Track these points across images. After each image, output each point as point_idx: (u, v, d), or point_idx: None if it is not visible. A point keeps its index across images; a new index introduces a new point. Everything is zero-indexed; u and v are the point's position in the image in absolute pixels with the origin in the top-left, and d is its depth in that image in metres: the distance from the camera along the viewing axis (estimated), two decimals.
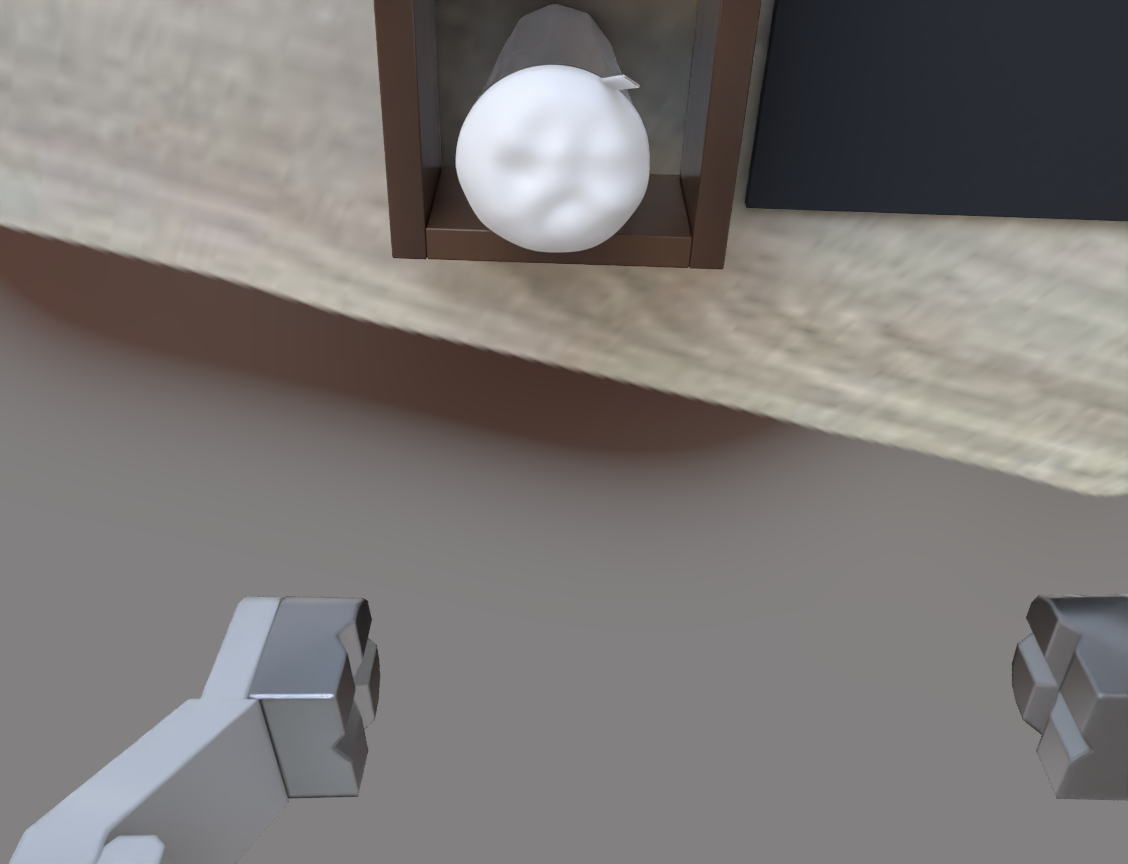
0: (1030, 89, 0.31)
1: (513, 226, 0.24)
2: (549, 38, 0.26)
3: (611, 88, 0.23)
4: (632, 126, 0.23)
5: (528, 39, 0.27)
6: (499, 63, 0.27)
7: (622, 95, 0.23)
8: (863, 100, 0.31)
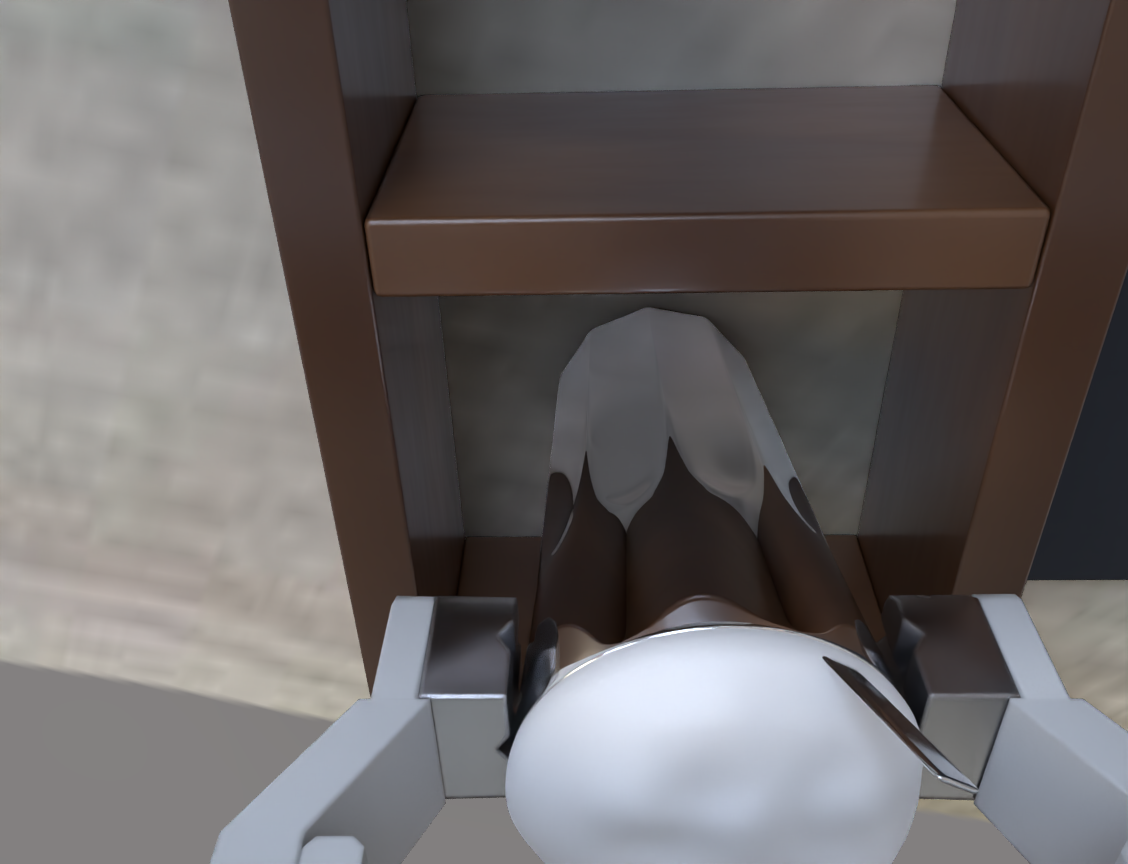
0: None
1: None
2: (672, 466, 0.13)
3: None
4: (899, 742, 0.10)
5: (623, 440, 0.14)
6: (568, 476, 0.14)
7: (873, 678, 0.10)
8: None
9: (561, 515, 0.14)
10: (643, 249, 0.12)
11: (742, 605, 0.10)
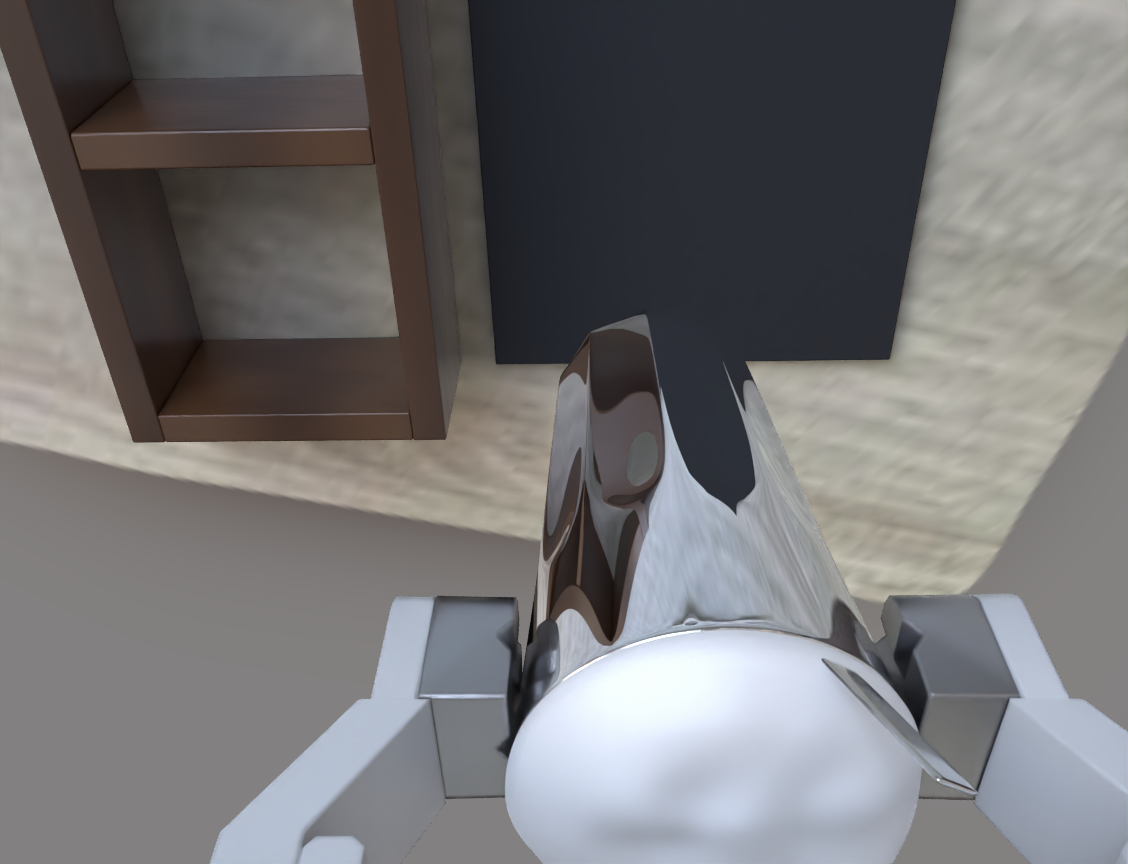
0: (745, 247, 0.32)
1: None
2: (672, 467, 0.13)
3: None
4: (898, 744, 0.10)
5: (623, 442, 0.14)
6: (567, 477, 0.14)
7: (872, 679, 0.10)
8: (585, 265, 0.32)
9: (561, 517, 0.14)
10: (195, 146, 0.26)
11: (741, 607, 0.11)
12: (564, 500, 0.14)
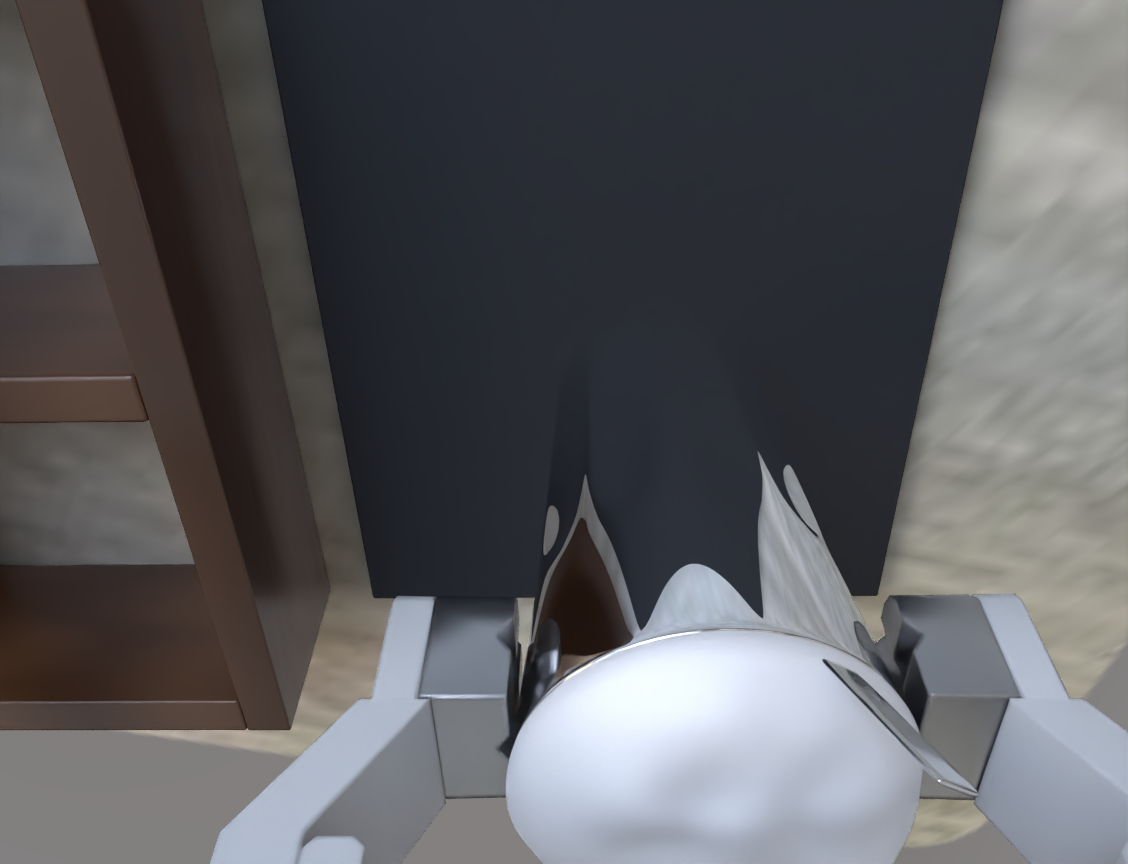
0: None
1: None
2: (673, 468, 0.13)
3: None
4: (899, 745, 0.10)
5: (623, 443, 0.14)
6: (568, 478, 0.14)
7: (873, 680, 0.10)
8: (479, 490, 0.24)
9: (561, 517, 0.14)
10: None
11: (742, 608, 0.11)
12: (565, 501, 0.14)
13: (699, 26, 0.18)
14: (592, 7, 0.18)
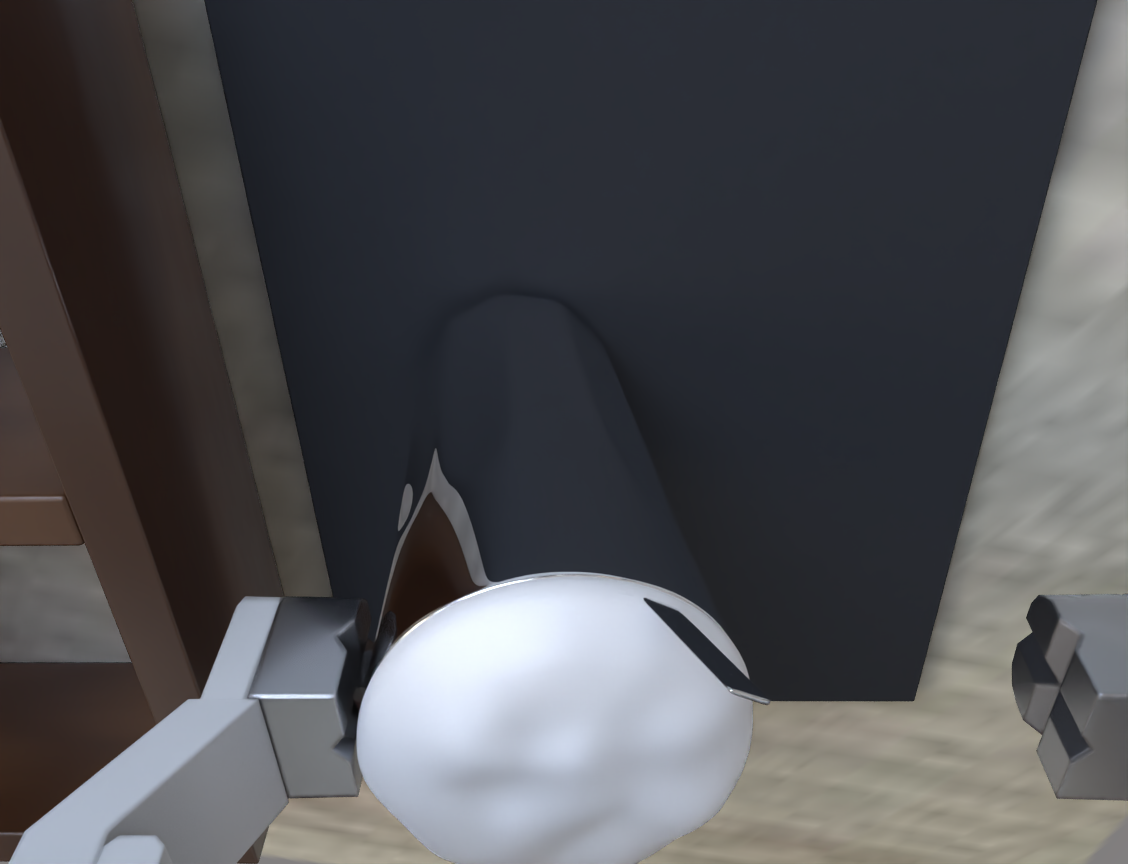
0: (704, 571, 0.21)
1: None
2: (514, 435, 0.13)
3: None
4: None
5: (471, 417, 0.14)
6: (422, 455, 0.15)
7: (694, 616, 0.11)
8: None
9: (414, 492, 0.14)
10: None
11: (569, 556, 0.11)
12: (418, 476, 0.14)
13: (726, 90, 0.16)
14: (600, 67, 0.15)
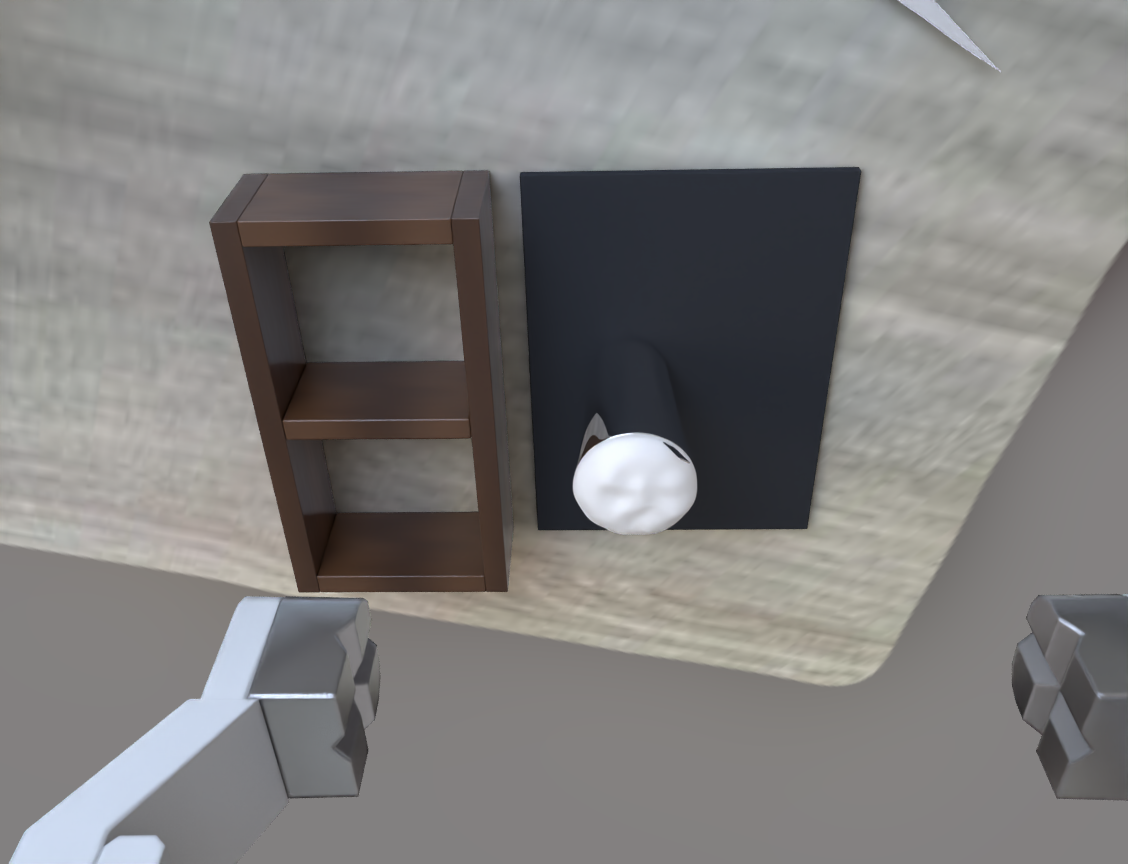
0: (707, 462, 0.47)
1: (611, 526, 0.38)
2: (627, 393, 0.39)
3: (671, 447, 0.37)
4: (685, 467, 0.37)
5: (612, 386, 0.40)
6: (593, 398, 0.41)
7: (678, 449, 0.37)
8: None
9: (590, 411, 0.40)
10: (360, 428, 0.41)
11: (642, 428, 0.37)
12: (592, 405, 0.40)
13: (715, 265, 0.41)
14: (668, 257, 0.41)
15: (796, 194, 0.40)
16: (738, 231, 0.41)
